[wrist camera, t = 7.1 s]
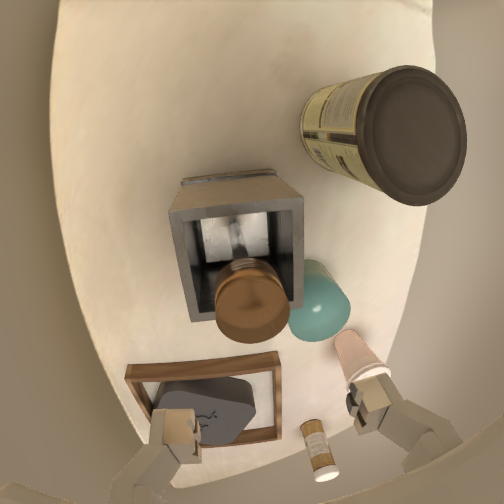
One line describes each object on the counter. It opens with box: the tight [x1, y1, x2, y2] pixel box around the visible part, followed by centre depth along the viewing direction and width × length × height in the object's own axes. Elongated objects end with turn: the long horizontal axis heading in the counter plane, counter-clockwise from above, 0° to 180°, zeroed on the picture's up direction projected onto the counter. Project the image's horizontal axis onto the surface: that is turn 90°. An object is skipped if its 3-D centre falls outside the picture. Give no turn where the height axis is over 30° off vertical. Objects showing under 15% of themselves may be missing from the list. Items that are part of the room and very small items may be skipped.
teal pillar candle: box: [288, 260, 351, 342], centre depth 33 cm, size 7×7×7 cm
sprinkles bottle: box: [301, 420, 339, 482], centre depth 45 cm, size 5×5×13 cm
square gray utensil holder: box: [169, 169, 304, 322], centre depth 26 cm, size 9×9×12 cm
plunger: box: [201, 212, 290, 344], centre depth 22 cm, size 6×6×14 cm
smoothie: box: [334, 330, 391, 393], centre depth 35 cm, size 6×6×14 cm
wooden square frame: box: [124, 351, 282, 448], centre depth 43 cm, size 23×23×3 cm
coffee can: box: [300, 65, 467, 206], centre depth 23 cm, size 10×10×14 cm
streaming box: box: [152, 377, 256, 446], centre depth 41 cm, size 14×14×5 cm
